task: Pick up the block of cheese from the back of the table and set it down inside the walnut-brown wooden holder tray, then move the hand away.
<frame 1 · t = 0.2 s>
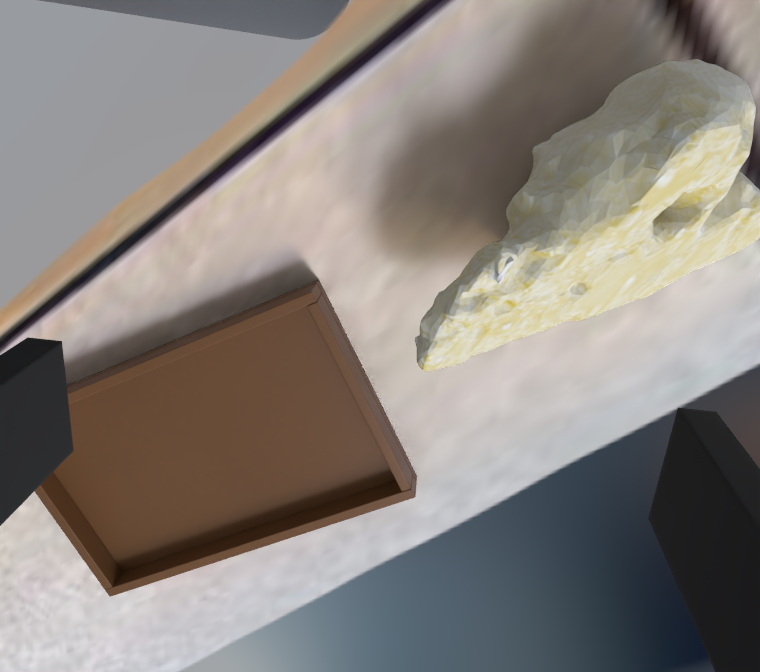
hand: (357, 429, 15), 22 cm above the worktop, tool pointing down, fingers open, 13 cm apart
holder: (211, 442, 41), on the worktop
cheese: (570, 233, 34), on the worktop
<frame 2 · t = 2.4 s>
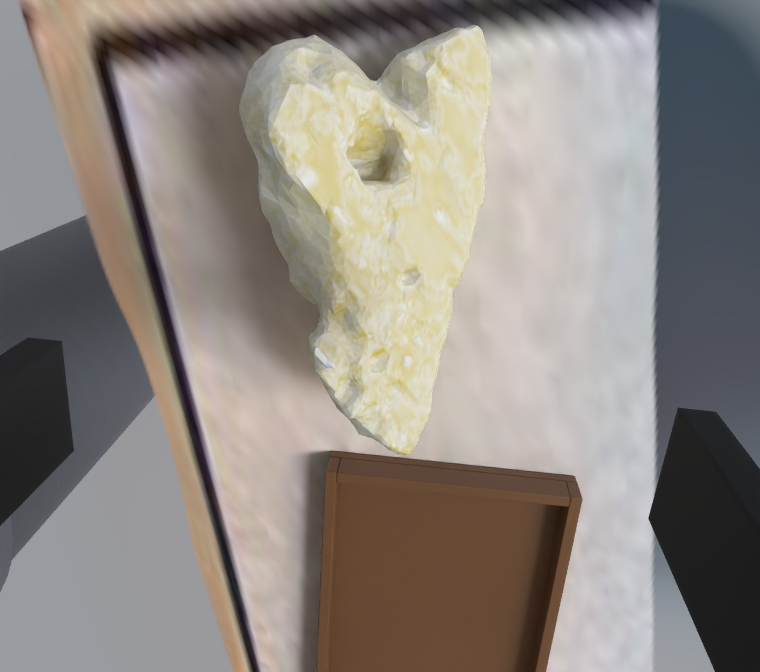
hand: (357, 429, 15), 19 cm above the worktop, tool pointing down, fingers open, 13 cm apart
holder: (433, 614, 41), on the worktop
cheese: (403, 220, 33), on the worktop
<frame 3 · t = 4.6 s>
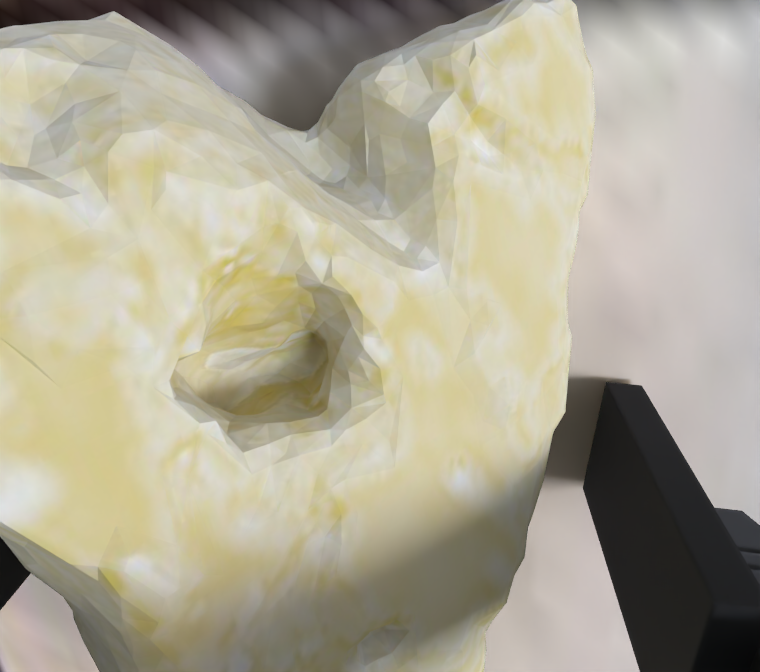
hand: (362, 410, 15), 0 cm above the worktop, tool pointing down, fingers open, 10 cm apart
cheese: (382, 402, 16), on the worktop, touching gripper
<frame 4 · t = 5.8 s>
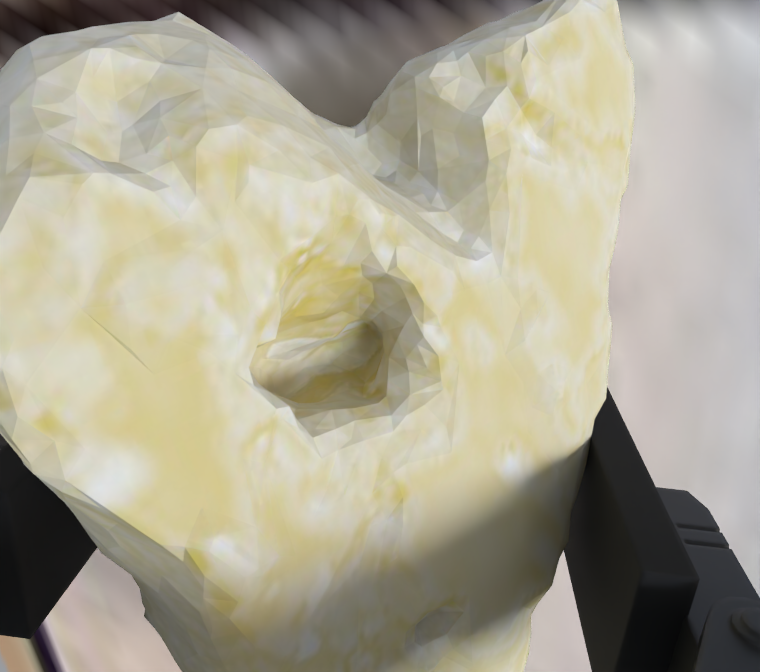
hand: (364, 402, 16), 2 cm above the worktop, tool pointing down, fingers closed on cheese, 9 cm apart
cheese: (417, 394, 16), point 1 cm above the worktop, touching gripper
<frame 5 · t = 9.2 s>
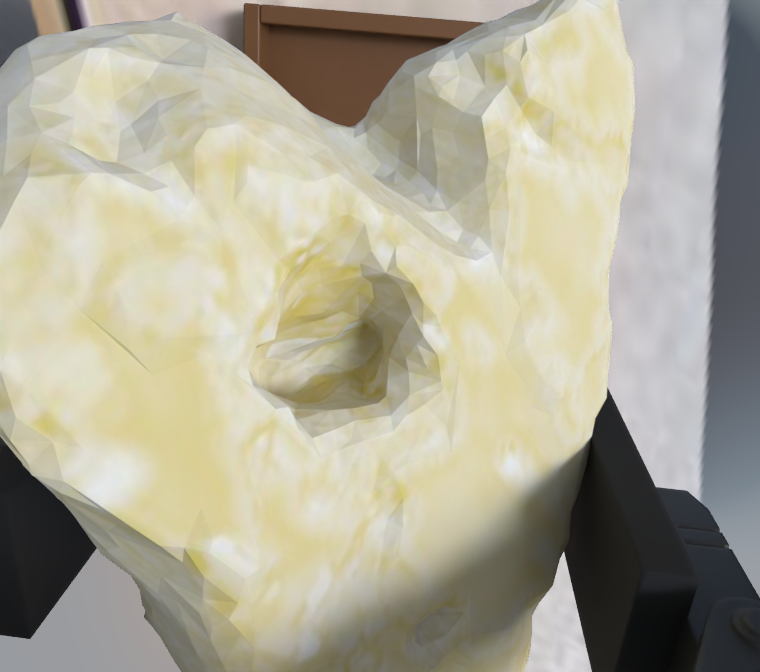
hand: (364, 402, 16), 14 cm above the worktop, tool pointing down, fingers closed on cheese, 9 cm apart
holder: (404, 289, 30), on the worktop
cheese: (417, 394, 16), point 14 cm above the worktop, touching gripper
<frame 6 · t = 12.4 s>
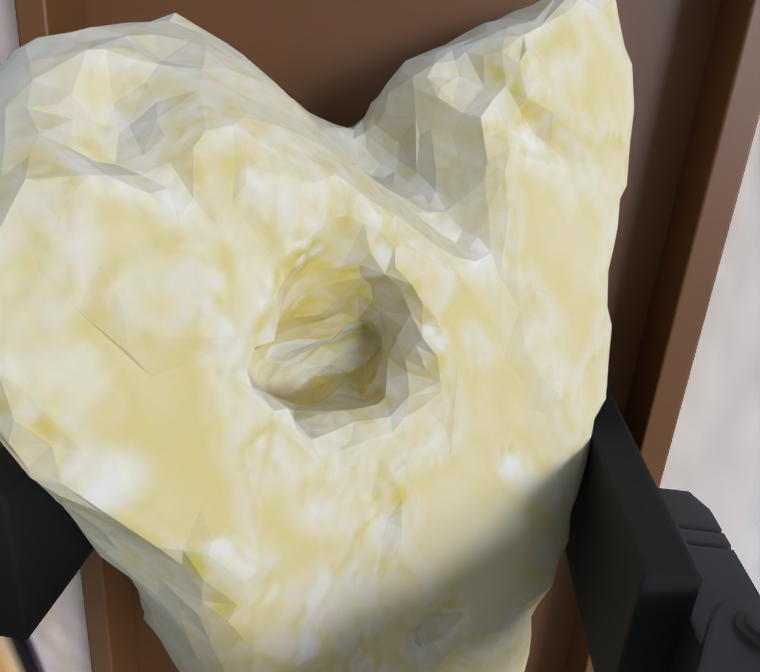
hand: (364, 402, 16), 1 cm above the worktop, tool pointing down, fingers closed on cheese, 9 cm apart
holder: (365, 385, 17), on the worktop
cheese: (416, 394, 16), resting on holder, touching gripper
when the fingers open (2 cm above the worktop, at t = 13.6 s): cheese stays where it is, resting on holder.
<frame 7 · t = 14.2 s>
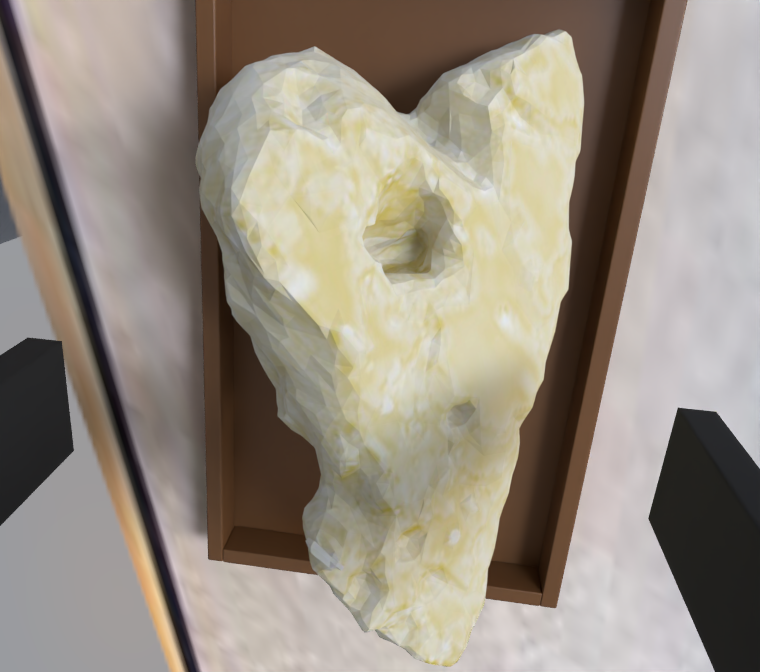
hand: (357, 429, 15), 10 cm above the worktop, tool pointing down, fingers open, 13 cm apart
holder: (407, 299, 24), on the worktop
cheese: (443, 304, 23), resting on holder
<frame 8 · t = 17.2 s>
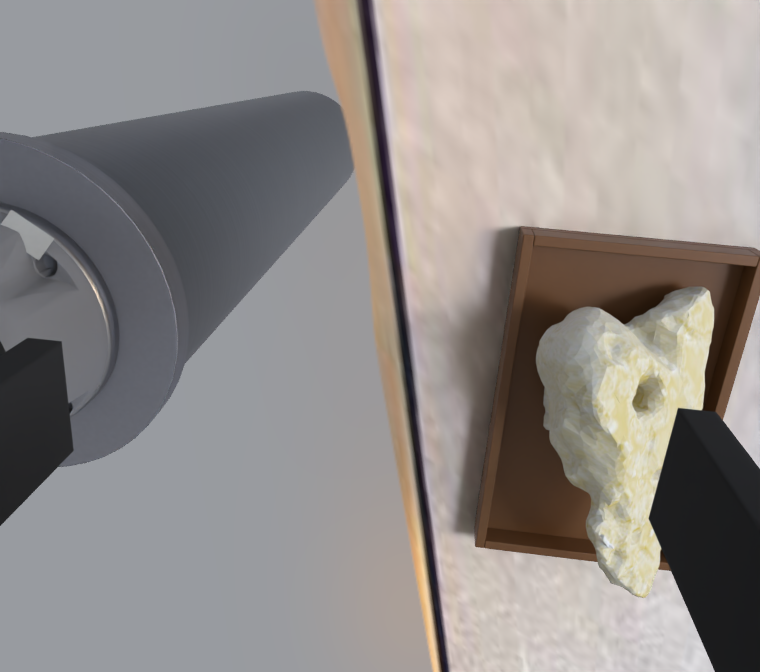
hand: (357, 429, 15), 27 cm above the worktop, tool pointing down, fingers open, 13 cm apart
holder: (600, 401, 43), on the worktop
cheese: (622, 405, 42), resting on holder
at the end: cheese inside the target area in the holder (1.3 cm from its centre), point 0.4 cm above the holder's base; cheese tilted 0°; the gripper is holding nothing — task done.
